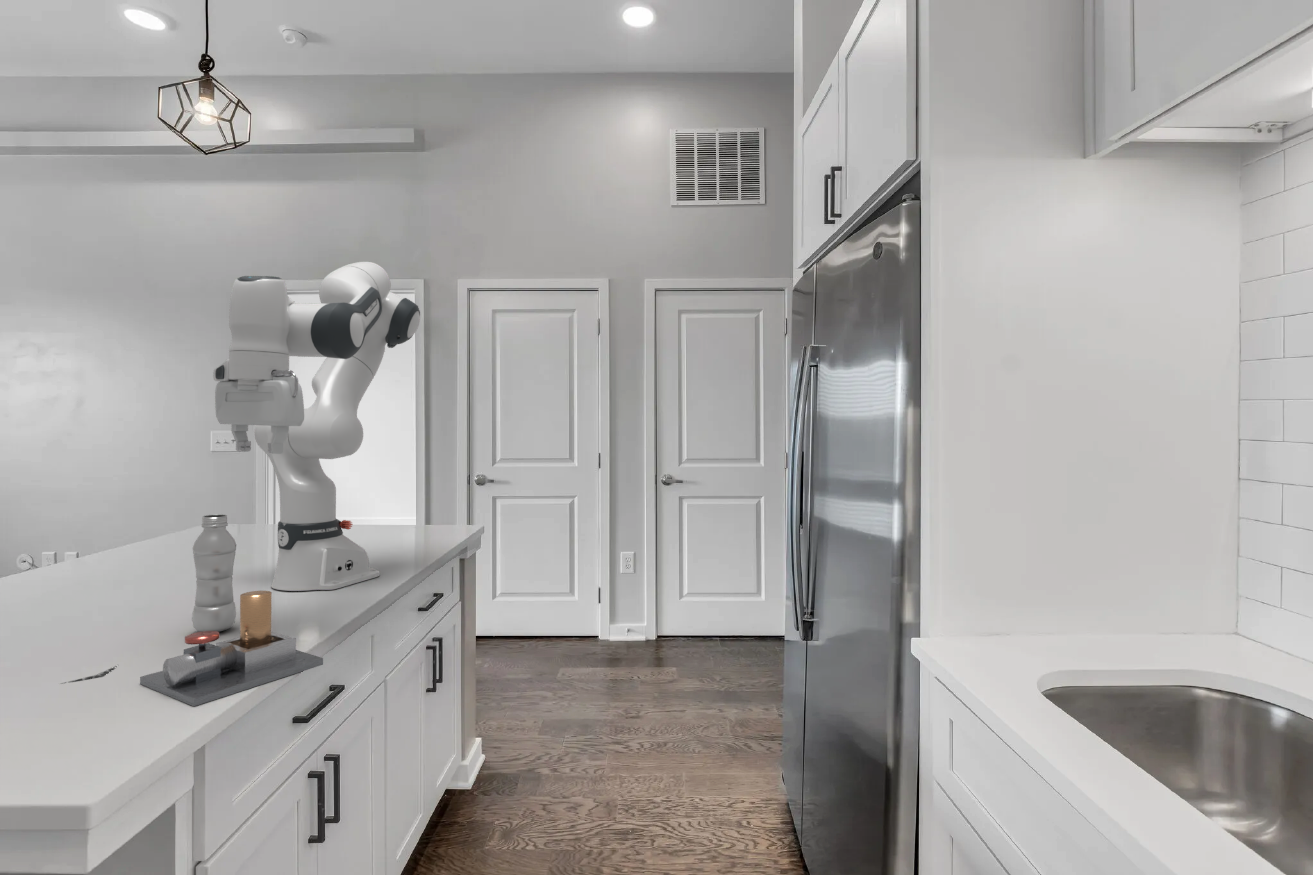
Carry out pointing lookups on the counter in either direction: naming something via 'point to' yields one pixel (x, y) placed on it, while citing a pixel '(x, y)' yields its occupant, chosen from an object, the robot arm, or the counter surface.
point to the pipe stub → (255, 619)
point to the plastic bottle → (214, 576)
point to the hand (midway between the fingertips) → (259, 452)
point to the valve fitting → (226, 667)
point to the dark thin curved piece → (94, 675)
